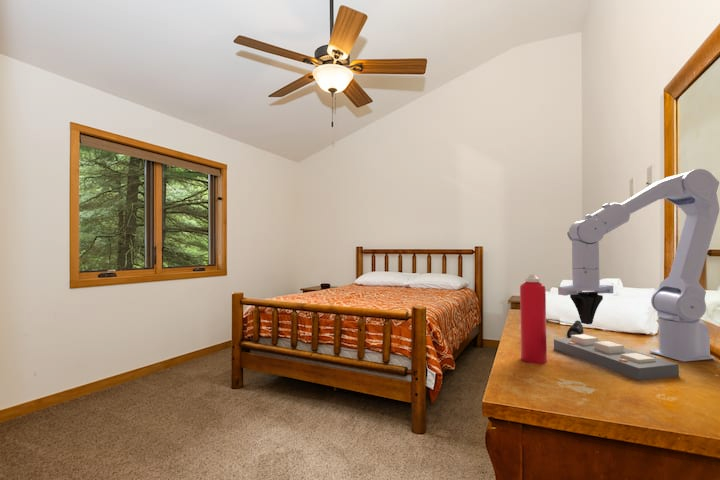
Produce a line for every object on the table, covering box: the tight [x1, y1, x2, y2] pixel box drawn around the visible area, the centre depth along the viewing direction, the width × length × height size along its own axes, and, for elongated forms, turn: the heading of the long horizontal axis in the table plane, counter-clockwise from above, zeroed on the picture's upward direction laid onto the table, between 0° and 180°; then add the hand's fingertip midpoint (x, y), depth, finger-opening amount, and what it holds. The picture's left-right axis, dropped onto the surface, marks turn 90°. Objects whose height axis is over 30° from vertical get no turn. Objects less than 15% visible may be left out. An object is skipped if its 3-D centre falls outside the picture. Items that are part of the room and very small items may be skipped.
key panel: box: [553, 337, 680, 382], centre depth 85 cm, size 10×23×3 cm, turn 12°
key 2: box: [621, 353, 655, 364], centre depth 78 cm, size 4×4×3 cm
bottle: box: [519, 274, 548, 365], centre depth 86 cm, size 6×5×20 cm
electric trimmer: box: [566, 319, 584, 338], centre depth 112 cm, size 4×16×3 cm, turn 145°
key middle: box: [594, 340, 625, 354], centre depth 85 cm, size 4×4×3 cm
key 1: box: [571, 333, 599, 346], centre depth 92 cm, size 4×4×3 cm
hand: (586, 323), depth 91 cm, fingers closed
